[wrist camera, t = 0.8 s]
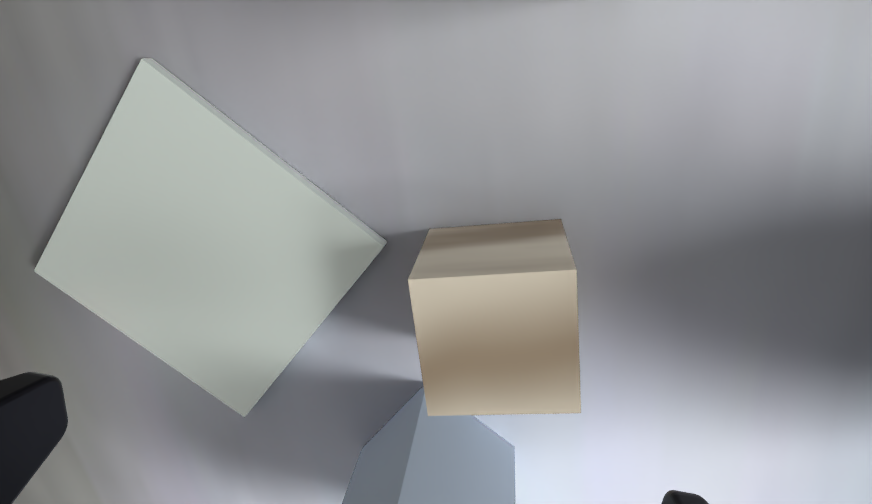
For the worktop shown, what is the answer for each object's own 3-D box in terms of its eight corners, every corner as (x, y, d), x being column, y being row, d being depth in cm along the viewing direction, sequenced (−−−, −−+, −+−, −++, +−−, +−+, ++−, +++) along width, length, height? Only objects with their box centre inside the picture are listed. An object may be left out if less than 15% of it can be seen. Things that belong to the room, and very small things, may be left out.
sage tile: (387, 241, 21) (384, 246, 21) (250, 409, 25) (244, 417, 25) (151, 58, 20) (141, 58, 19) (45, 266, 24) (34, 271, 23)
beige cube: (429, 228, 21) (407, 279, 16) (560, 218, 20) (576, 269, 16) (444, 345, 23) (428, 422, 18) (565, 340, 22) (580, 419, 17)
